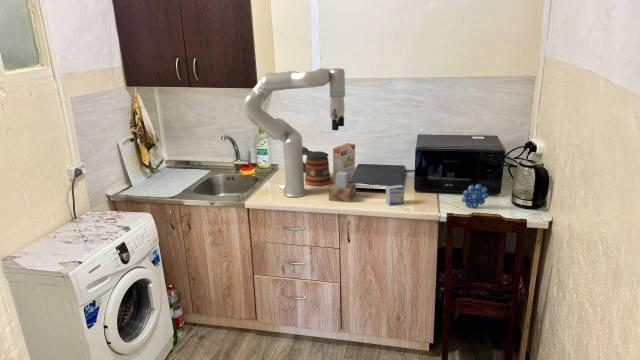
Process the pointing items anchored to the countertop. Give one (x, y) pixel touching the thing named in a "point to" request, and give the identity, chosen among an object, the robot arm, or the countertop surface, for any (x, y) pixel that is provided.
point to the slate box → (342, 180)
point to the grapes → (475, 195)
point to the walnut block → (342, 193)
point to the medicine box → (394, 195)
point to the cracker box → (344, 160)
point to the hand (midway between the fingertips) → (338, 128)
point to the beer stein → (316, 168)
